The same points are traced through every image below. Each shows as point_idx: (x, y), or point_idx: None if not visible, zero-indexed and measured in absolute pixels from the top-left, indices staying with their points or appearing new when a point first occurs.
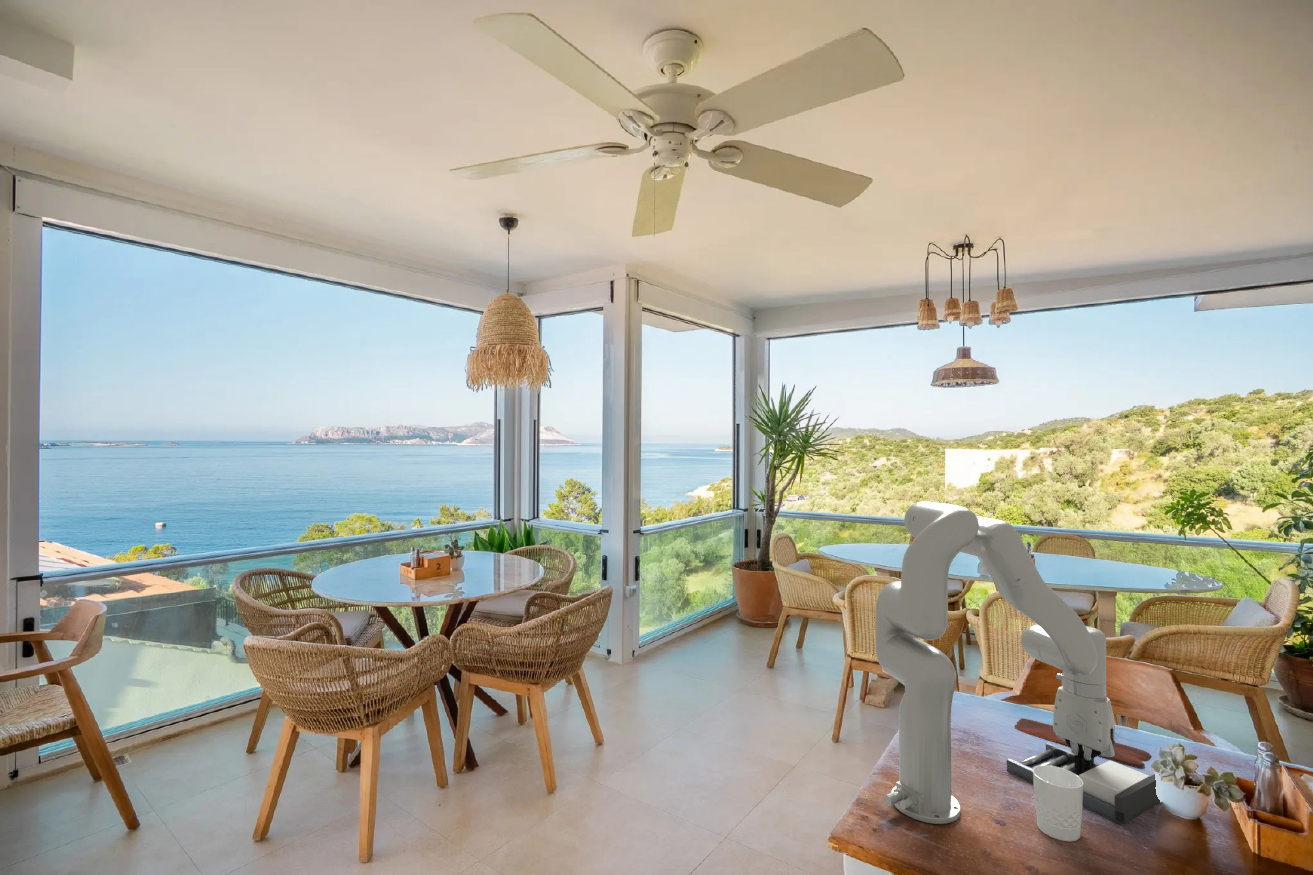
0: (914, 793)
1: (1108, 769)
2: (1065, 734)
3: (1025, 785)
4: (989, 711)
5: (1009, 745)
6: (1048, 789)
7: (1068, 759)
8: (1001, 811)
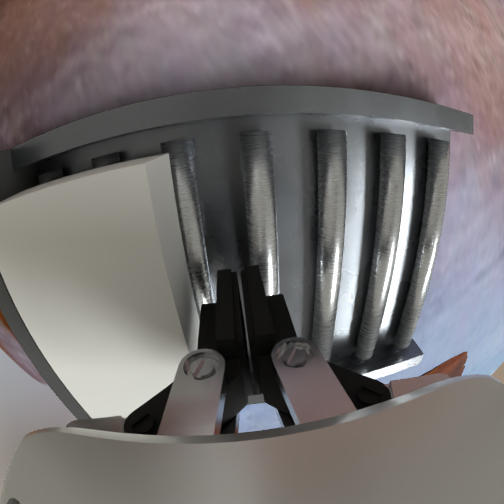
0: None
1: (153, 375)
2: (416, 436)
3: (357, 53)
4: (495, 349)
5: (474, 279)
6: None
7: (354, 357)
8: None
